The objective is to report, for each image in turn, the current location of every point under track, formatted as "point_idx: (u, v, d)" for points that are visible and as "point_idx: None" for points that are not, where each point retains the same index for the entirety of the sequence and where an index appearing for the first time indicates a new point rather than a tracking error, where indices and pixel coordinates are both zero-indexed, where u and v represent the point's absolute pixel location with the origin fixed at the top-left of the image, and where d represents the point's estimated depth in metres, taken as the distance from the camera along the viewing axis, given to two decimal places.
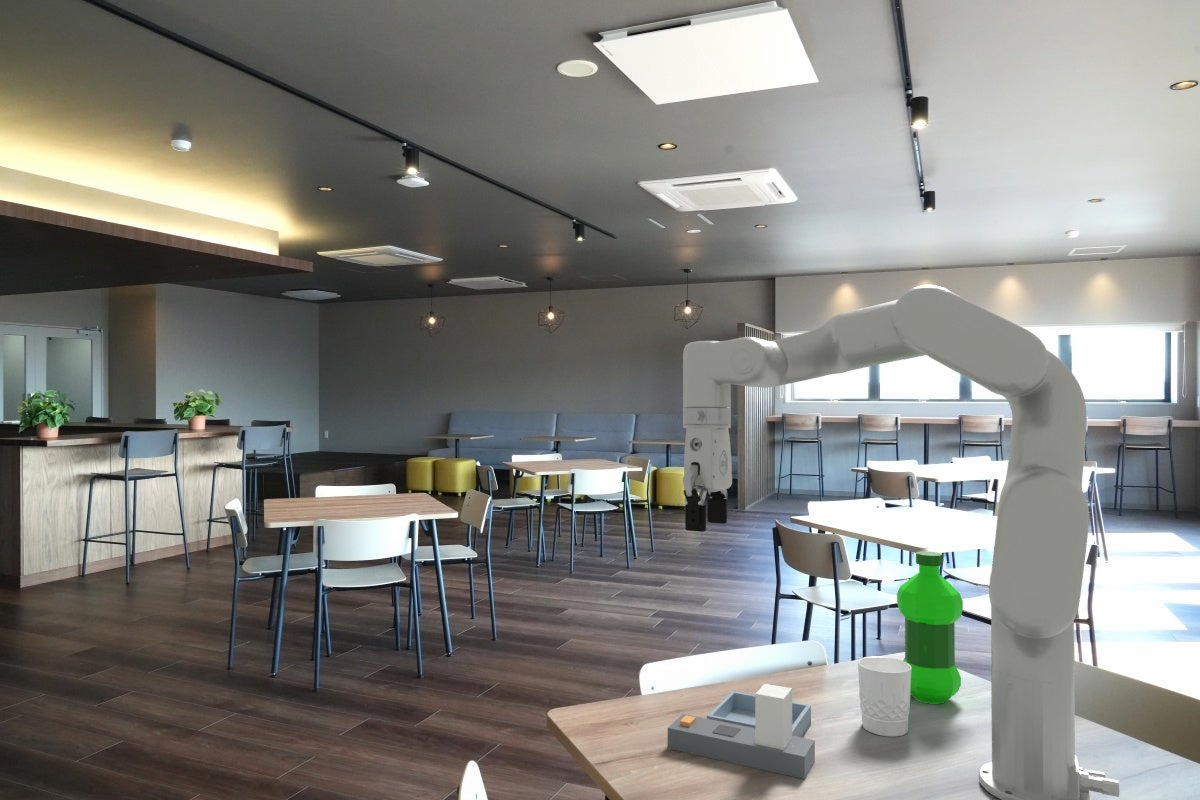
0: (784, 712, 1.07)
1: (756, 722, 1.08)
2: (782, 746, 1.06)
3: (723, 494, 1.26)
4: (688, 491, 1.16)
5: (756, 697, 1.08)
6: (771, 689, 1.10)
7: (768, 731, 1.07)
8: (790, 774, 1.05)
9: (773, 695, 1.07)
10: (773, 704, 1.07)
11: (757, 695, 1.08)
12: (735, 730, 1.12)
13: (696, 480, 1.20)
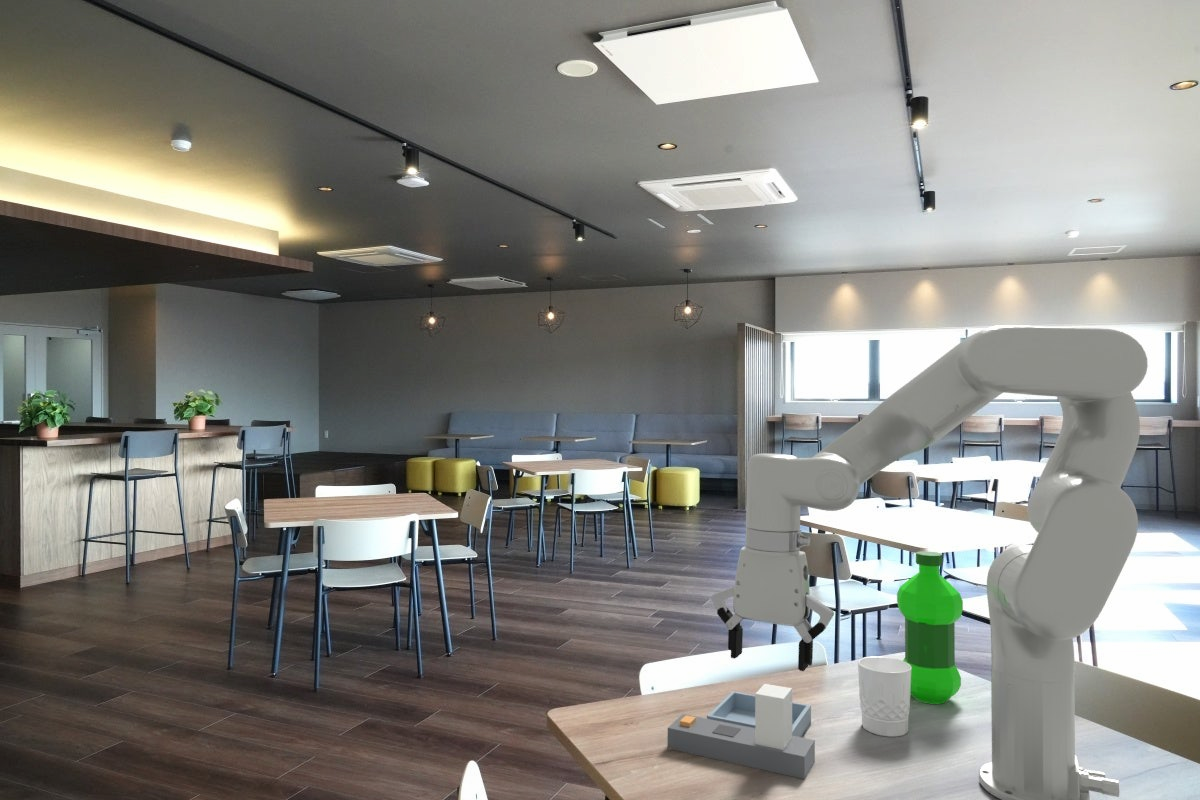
0: (784, 712, 1.07)
1: (756, 722, 1.08)
2: (782, 746, 1.06)
3: None
4: (826, 626, 1.06)
5: (756, 697, 1.08)
6: (771, 689, 1.10)
7: (768, 731, 1.07)
8: (790, 774, 1.05)
9: (773, 695, 1.07)
10: (773, 704, 1.07)
11: (757, 695, 1.08)
12: (735, 730, 1.12)
13: None
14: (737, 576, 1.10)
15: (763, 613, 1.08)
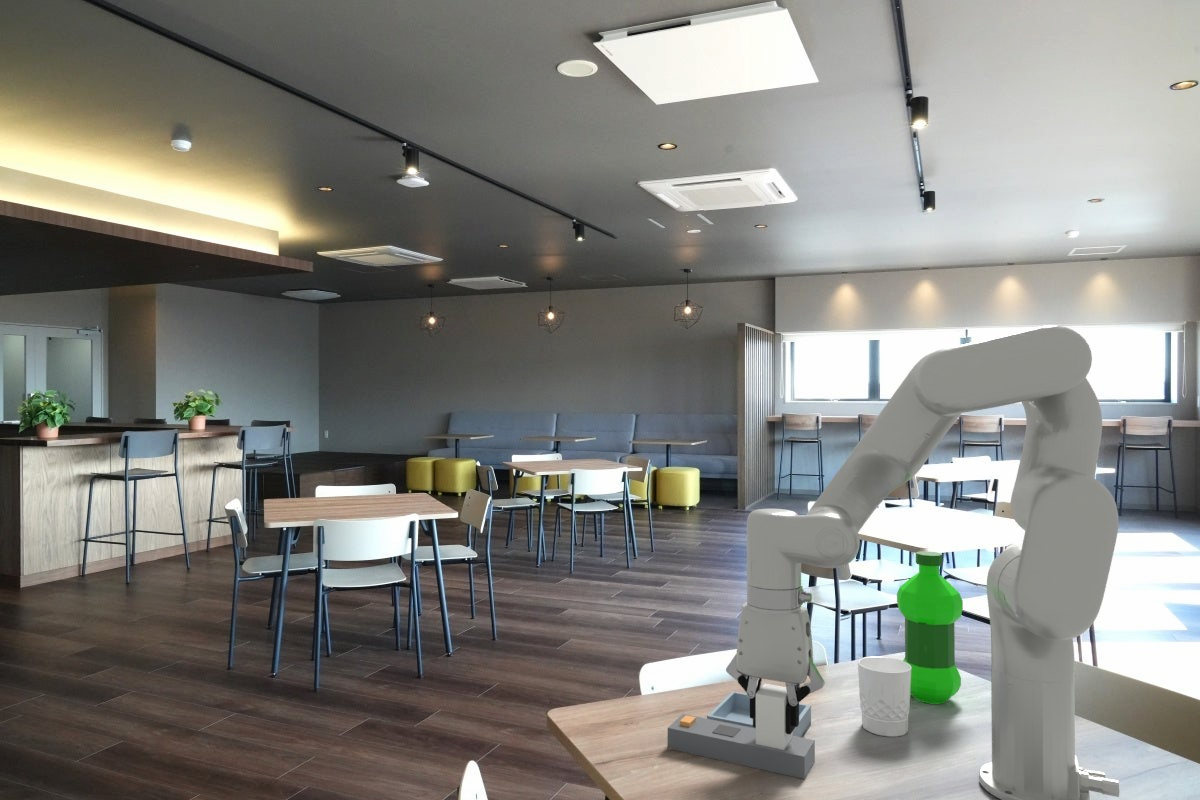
0: (785, 712, 1.07)
1: (756, 722, 1.08)
2: (782, 746, 1.06)
3: (760, 685, 1.11)
4: None
5: (756, 697, 1.08)
6: (771, 689, 1.10)
7: (768, 731, 1.07)
8: (790, 774, 1.05)
9: (773, 695, 1.07)
10: (773, 704, 1.07)
11: (757, 695, 1.08)
12: (735, 730, 1.12)
13: None
14: (739, 633, 1.09)
15: (767, 671, 1.07)
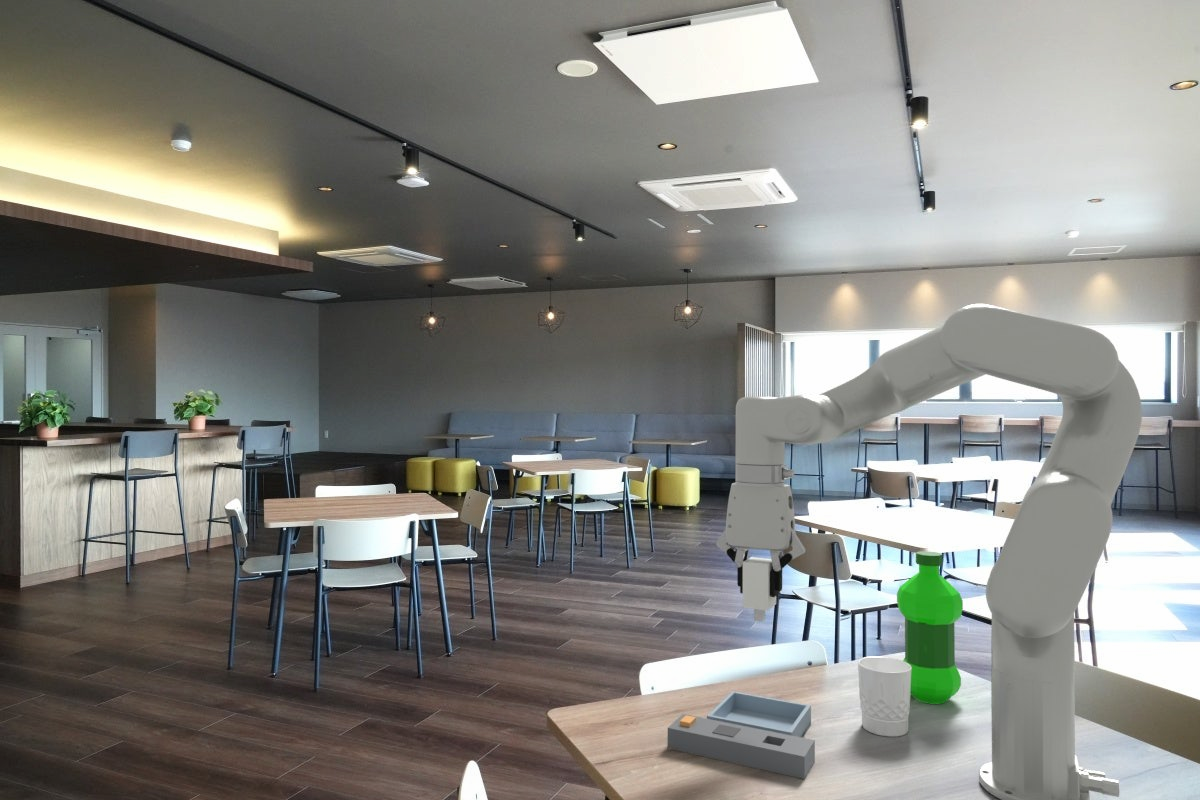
0: (769, 577, 1.18)
1: (743, 587, 1.19)
2: (767, 607, 1.17)
3: (747, 557, 1.22)
4: None
5: (743, 565, 1.19)
6: (757, 559, 1.21)
7: (754, 594, 1.18)
8: (790, 774, 1.05)
9: (758, 562, 1.18)
10: (759, 570, 1.18)
11: (744, 563, 1.19)
12: (735, 730, 1.12)
13: None
14: (729, 508, 1.20)
15: (753, 540, 1.18)
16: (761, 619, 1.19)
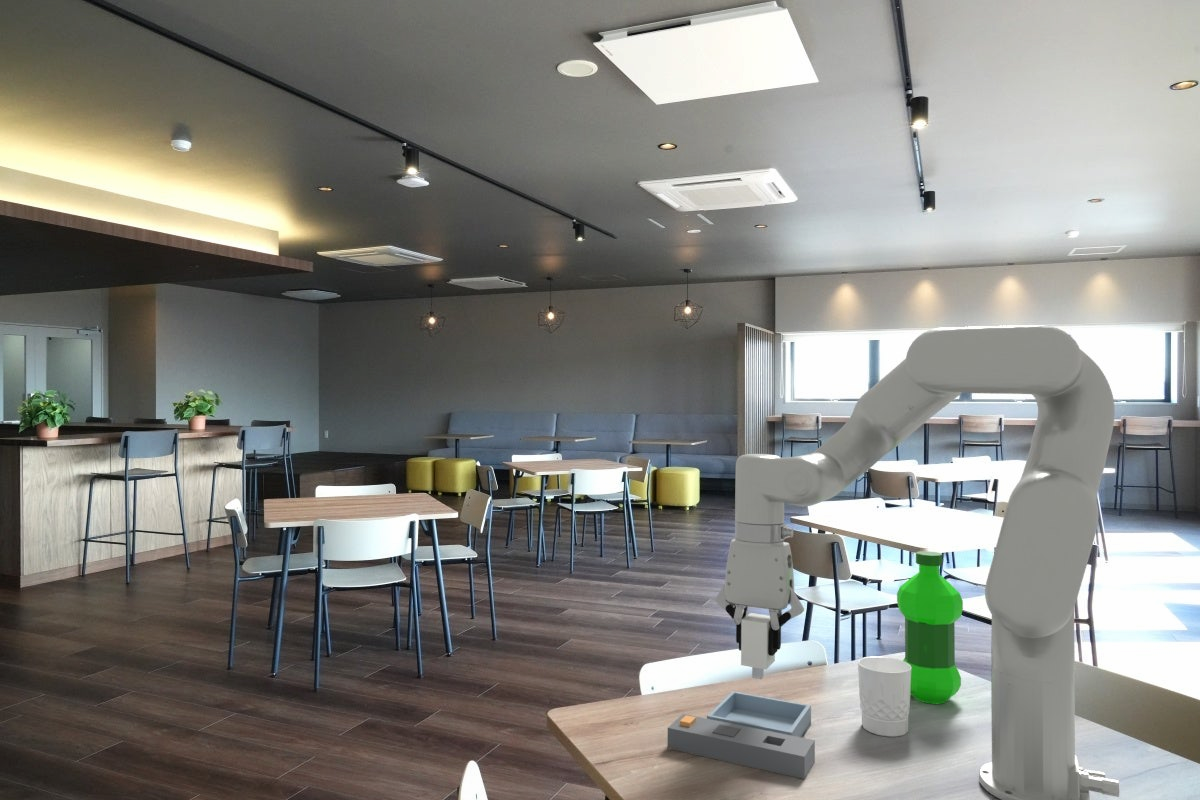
0: (767, 636, 1.18)
1: (742, 645, 1.19)
2: (765, 666, 1.17)
3: (746, 613, 1.23)
4: None
5: (742, 623, 1.19)
6: (756, 617, 1.21)
7: (752, 653, 1.18)
8: (790, 774, 1.05)
9: (757, 621, 1.19)
10: (757, 628, 1.18)
11: (743, 621, 1.19)
12: (735, 730, 1.12)
13: None
14: (728, 566, 1.21)
15: (752, 599, 1.19)
16: (759, 677, 1.19)
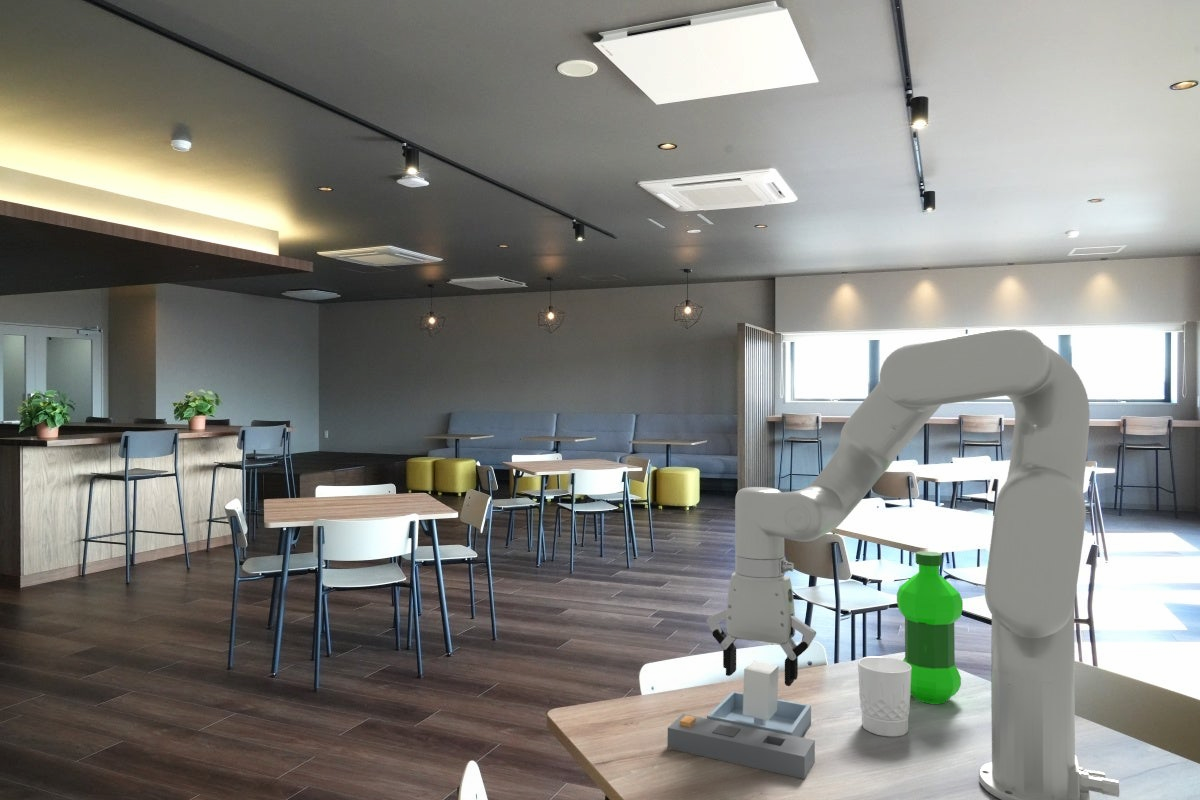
0: (770, 687, 1.18)
1: (744, 694, 1.19)
2: (767, 717, 1.17)
3: (734, 641, 1.23)
4: (809, 644, 1.17)
5: (745, 672, 1.19)
6: (759, 666, 1.21)
7: (754, 703, 1.18)
8: (790, 774, 1.05)
9: (760, 671, 1.18)
10: (760, 678, 1.18)
11: (746, 670, 1.19)
12: (735, 730, 1.12)
13: None
14: (728, 600, 1.21)
15: (753, 633, 1.19)
16: None
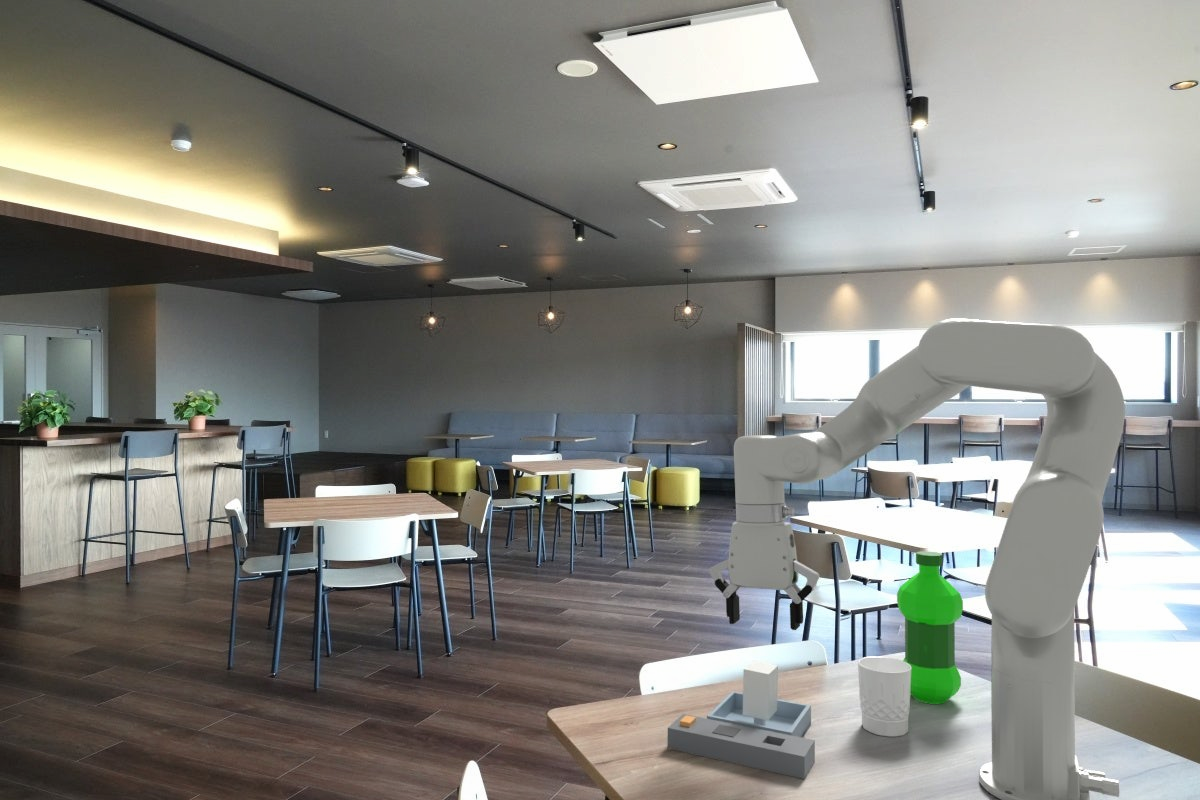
0: (769, 687, 1.18)
1: (744, 695, 1.19)
2: (766, 717, 1.17)
3: None
4: (813, 587, 1.16)
5: (744, 672, 1.19)
6: (758, 666, 1.21)
7: (754, 703, 1.18)
8: (790, 774, 1.05)
9: (759, 670, 1.18)
10: (759, 678, 1.18)
11: (745, 670, 1.19)
12: (735, 730, 1.12)
13: None
14: (730, 548, 1.21)
15: (756, 580, 1.18)
16: None
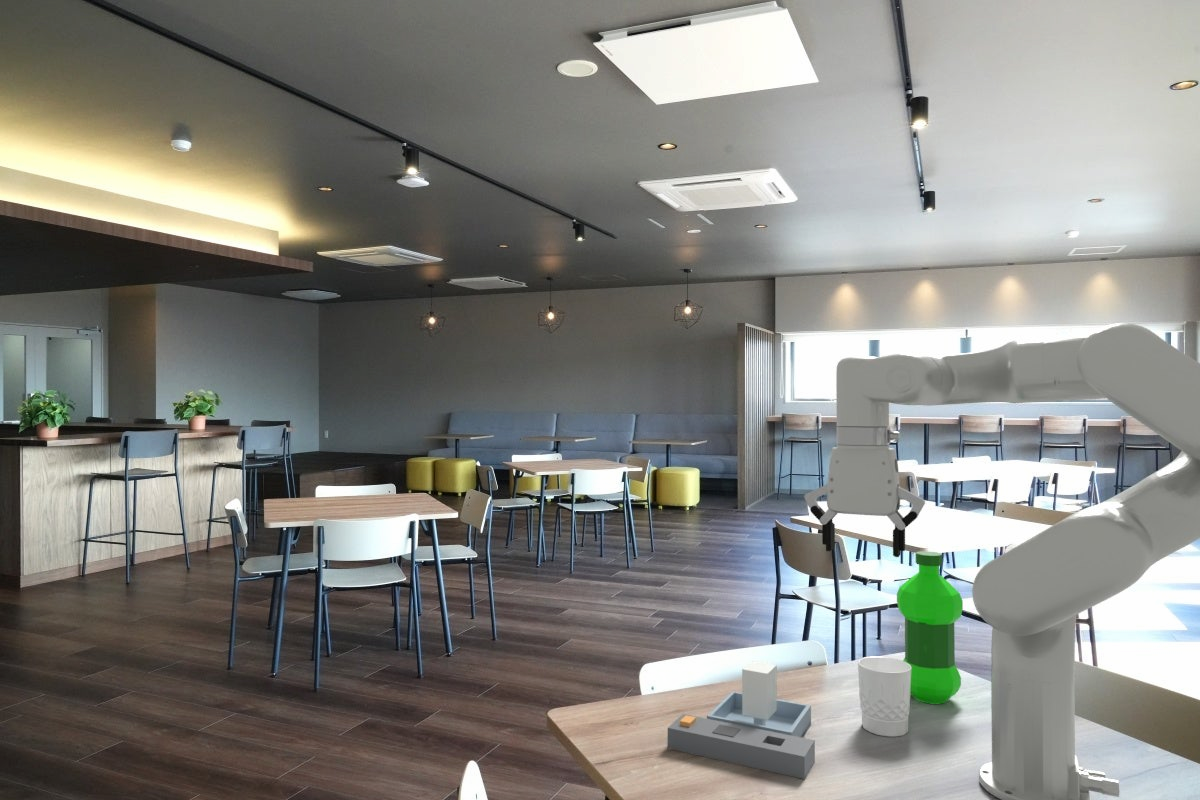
0: (768, 686, 1.18)
1: (743, 695, 1.19)
2: (766, 716, 1.17)
3: None
4: (918, 514, 1.12)
5: (743, 672, 1.19)
6: (757, 665, 1.21)
7: (753, 703, 1.18)
8: (790, 774, 1.05)
9: (758, 670, 1.19)
10: (758, 678, 1.18)
11: (744, 670, 1.19)
12: (735, 730, 1.12)
13: None
14: (830, 473, 1.17)
15: (857, 505, 1.14)
16: None
